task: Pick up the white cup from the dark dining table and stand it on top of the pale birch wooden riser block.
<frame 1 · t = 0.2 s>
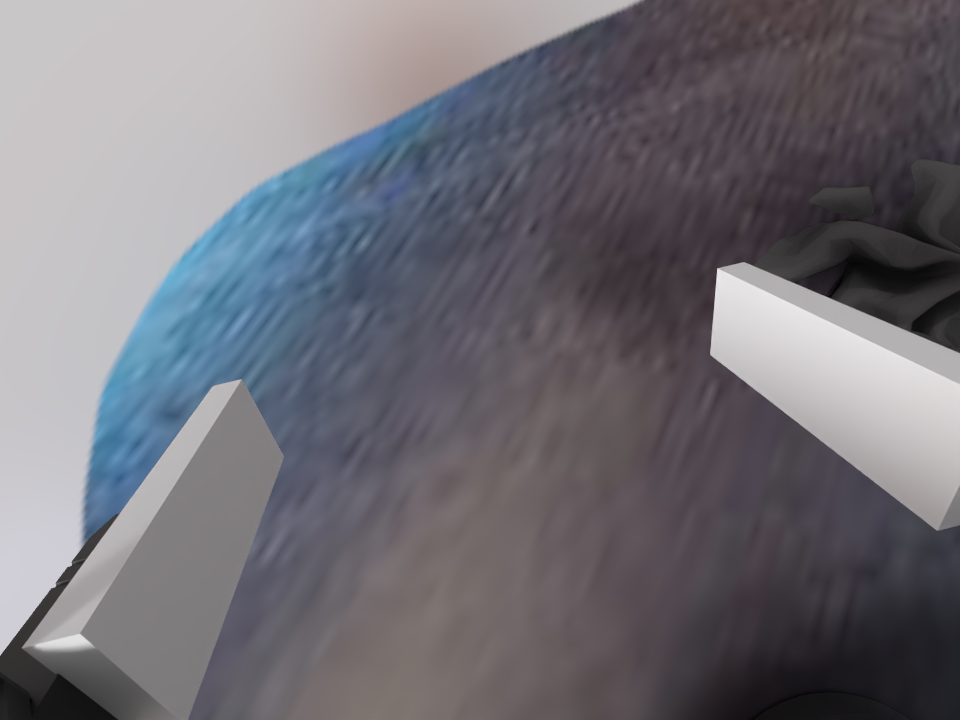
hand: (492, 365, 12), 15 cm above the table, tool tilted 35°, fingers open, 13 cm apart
cloth: (868, 295, 29), on the table
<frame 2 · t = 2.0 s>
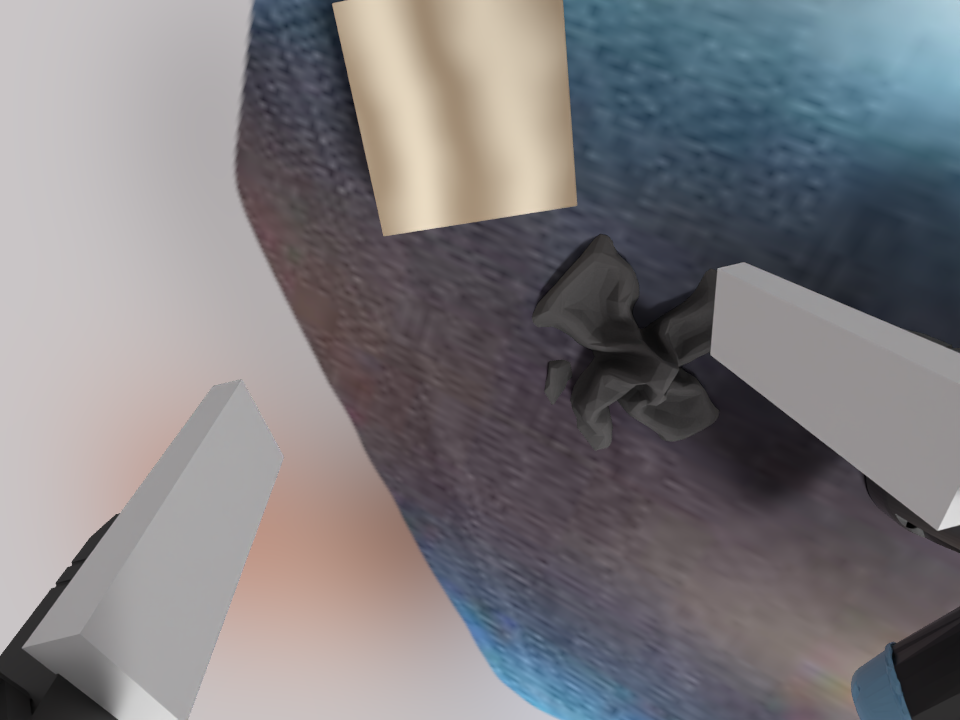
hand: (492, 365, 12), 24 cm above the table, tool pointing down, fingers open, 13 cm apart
cloth: (627, 367, 39), on the table
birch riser: (466, 123, 32), on the table
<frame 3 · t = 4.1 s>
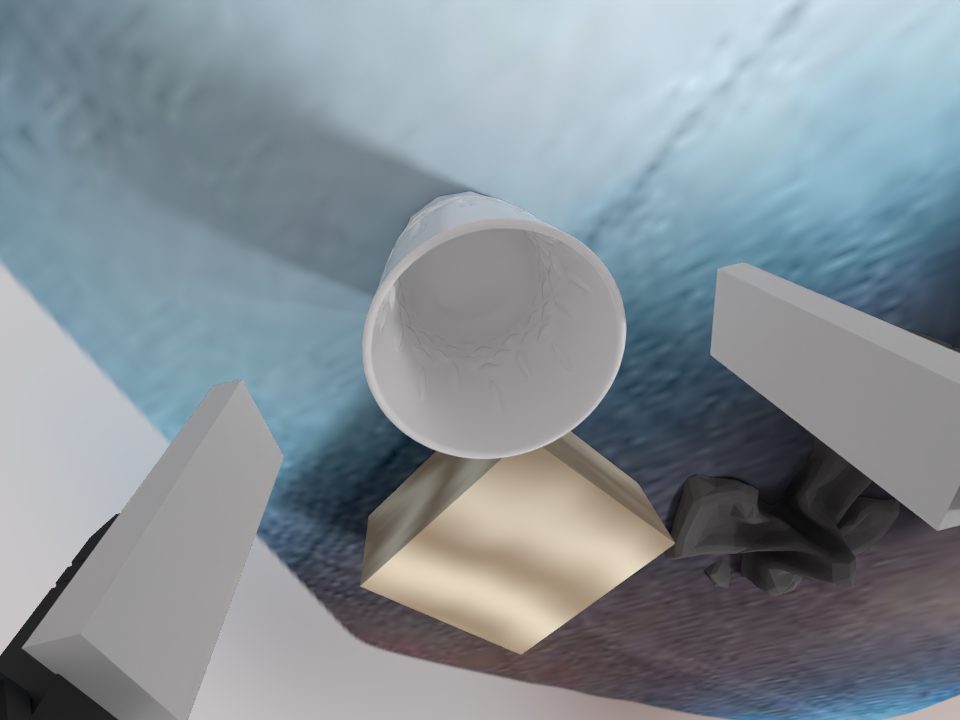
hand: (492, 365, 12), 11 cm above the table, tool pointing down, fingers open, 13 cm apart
cloth: (778, 522, 36), on the table
white cup: (464, 262, 22), on the table
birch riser: (507, 499, 30), on the table
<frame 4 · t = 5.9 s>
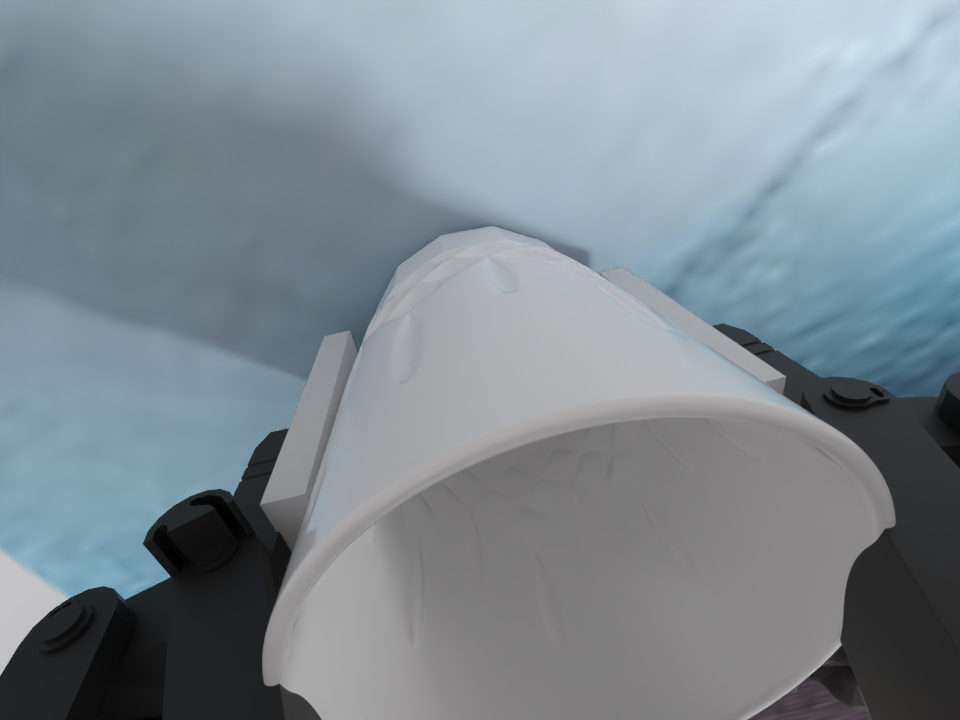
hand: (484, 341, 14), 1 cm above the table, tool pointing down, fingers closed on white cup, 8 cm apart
cloth: (863, 618, 29), on the table
white cup: (480, 328, 14), on the table, touching gripper
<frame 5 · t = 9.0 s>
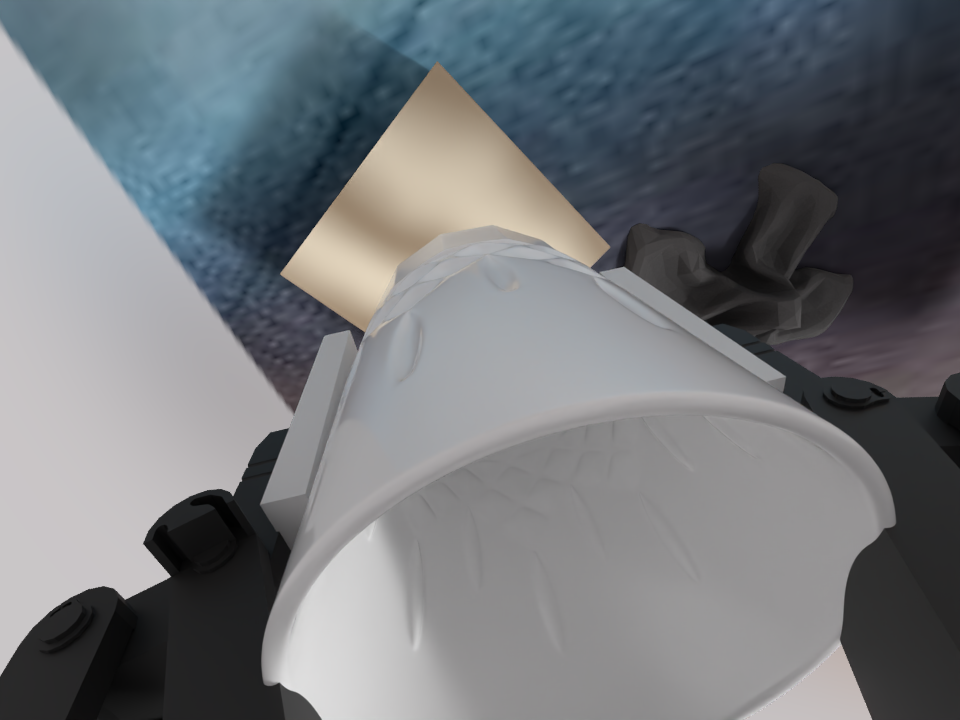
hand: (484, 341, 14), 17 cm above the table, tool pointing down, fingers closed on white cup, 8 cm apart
cloth: (731, 304, 36), on the table
white cup: (480, 328, 14), point 16 cm above the table, touching gripper
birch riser: (444, 238, 29), on the table
when the fingers open (7 cm above the table, at t = 12.3 s): white cup drops 1 cm, resting on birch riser.
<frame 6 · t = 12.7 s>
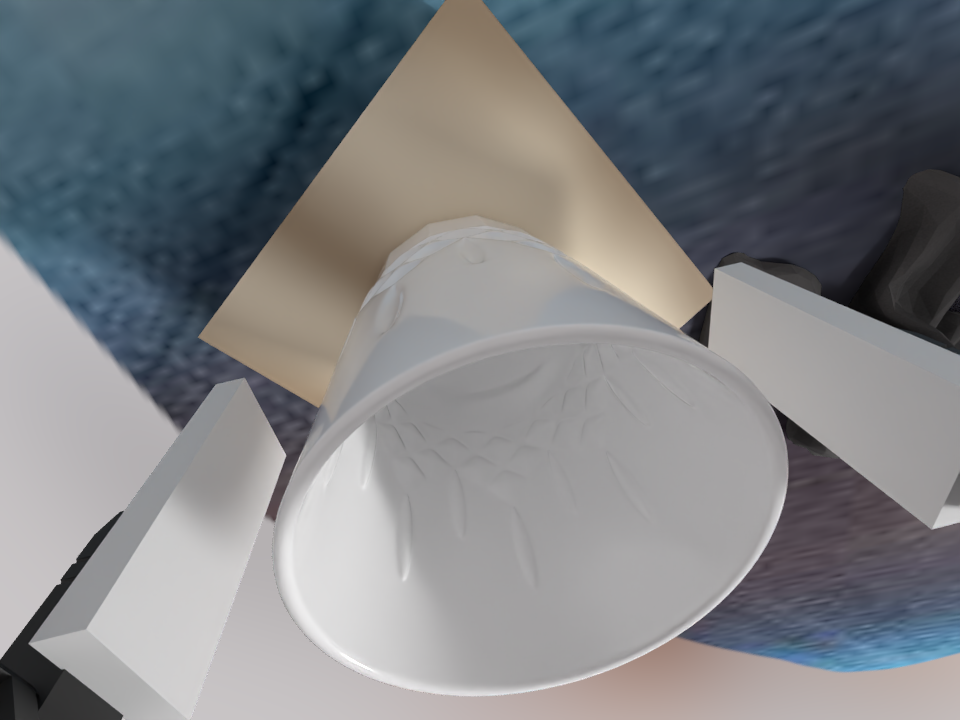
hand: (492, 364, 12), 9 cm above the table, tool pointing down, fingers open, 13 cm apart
cloth: (838, 357, 27), on the table
white cup: (467, 311, 16), point 5 cm above the table, touching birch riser
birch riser: (460, 271, 20), on the table
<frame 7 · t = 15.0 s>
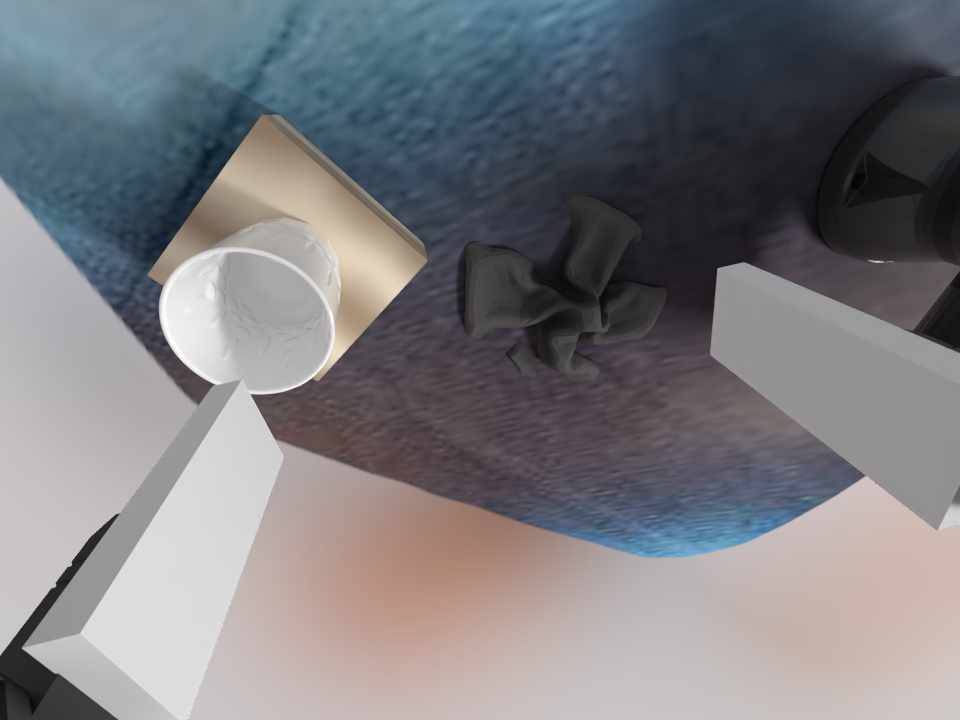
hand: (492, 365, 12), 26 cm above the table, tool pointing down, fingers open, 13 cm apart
cloth: (568, 310, 42), on the table
white cup: (290, 266, 31), point 5 cm above the table, touching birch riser
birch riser: (305, 248, 35), on the table
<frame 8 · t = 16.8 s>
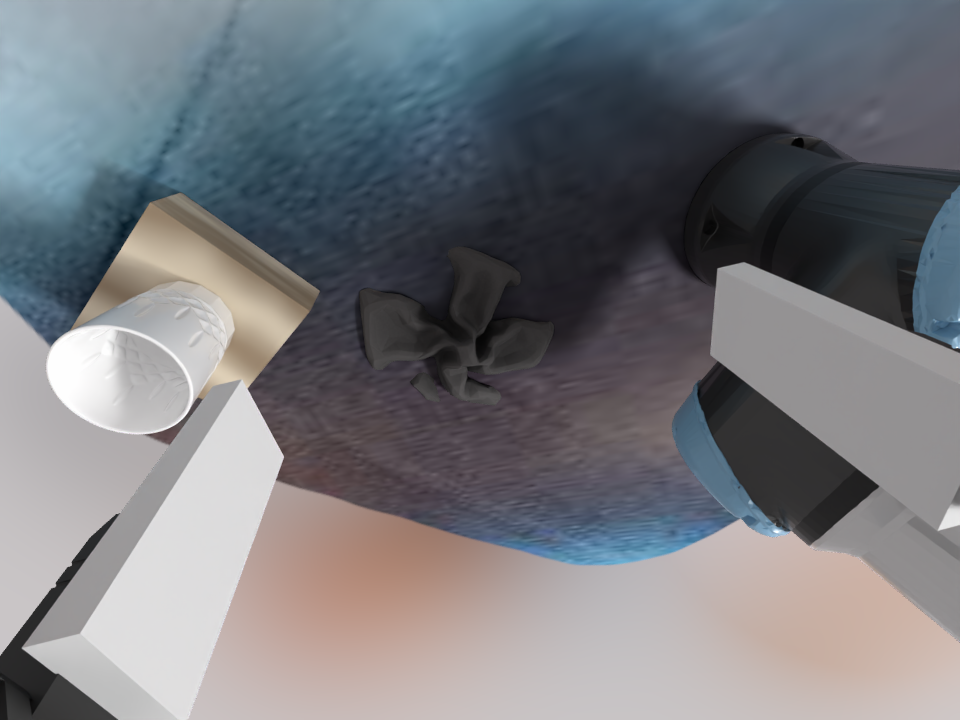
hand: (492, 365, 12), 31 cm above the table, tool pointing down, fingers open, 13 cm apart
cloth: (464, 343, 47), on the table
white cup: (191, 318, 36), point 5 cm above the table, touching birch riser
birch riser: (216, 298, 41), on the table
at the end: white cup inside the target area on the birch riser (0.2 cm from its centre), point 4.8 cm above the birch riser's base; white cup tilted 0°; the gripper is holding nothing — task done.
